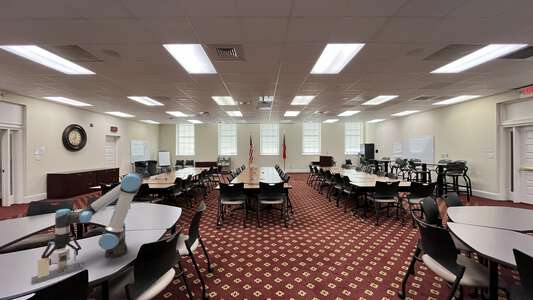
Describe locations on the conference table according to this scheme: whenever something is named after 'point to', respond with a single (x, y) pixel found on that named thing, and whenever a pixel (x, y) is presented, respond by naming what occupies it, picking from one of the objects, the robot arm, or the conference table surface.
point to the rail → (46, 275)
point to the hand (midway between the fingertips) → (61, 264)
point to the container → (60, 249)
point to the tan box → (62, 259)
